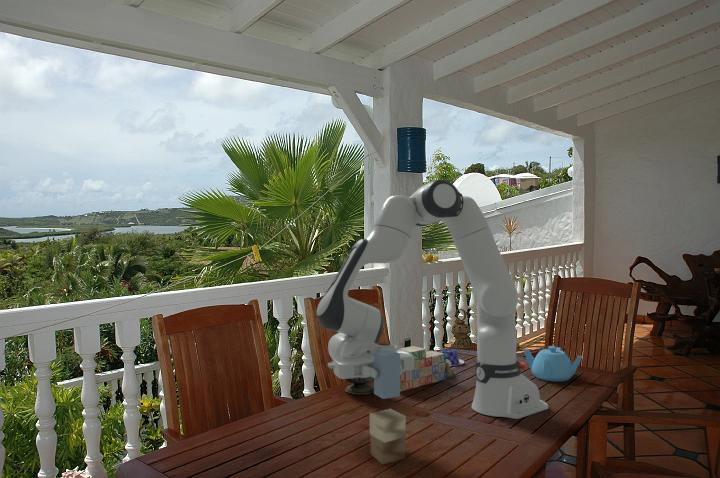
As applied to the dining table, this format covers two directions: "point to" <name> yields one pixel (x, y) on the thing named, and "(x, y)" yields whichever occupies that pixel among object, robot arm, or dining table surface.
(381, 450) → the tower base
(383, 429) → the tower top
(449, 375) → the eagle figurine
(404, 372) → the stack of blocks
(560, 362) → the teapot
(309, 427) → the dining table surface
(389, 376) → the pillar
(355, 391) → the apothecary jar
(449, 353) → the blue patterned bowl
